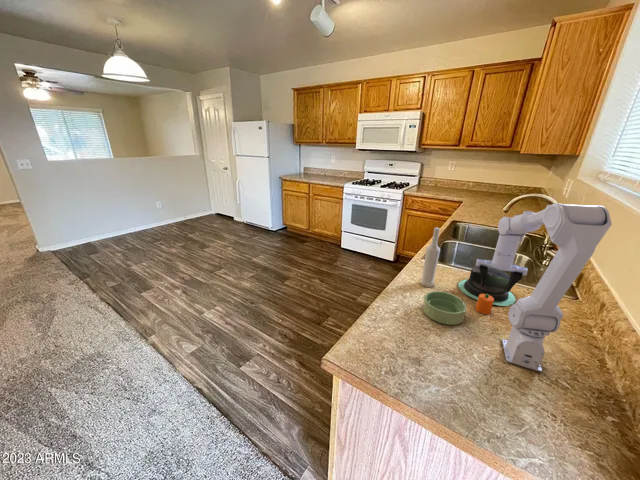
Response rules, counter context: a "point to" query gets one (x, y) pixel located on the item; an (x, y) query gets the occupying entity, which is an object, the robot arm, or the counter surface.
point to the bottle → (431, 261)
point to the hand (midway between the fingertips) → (494, 287)
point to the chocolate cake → (488, 286)
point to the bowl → (444, 307)
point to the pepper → (484, 303)
